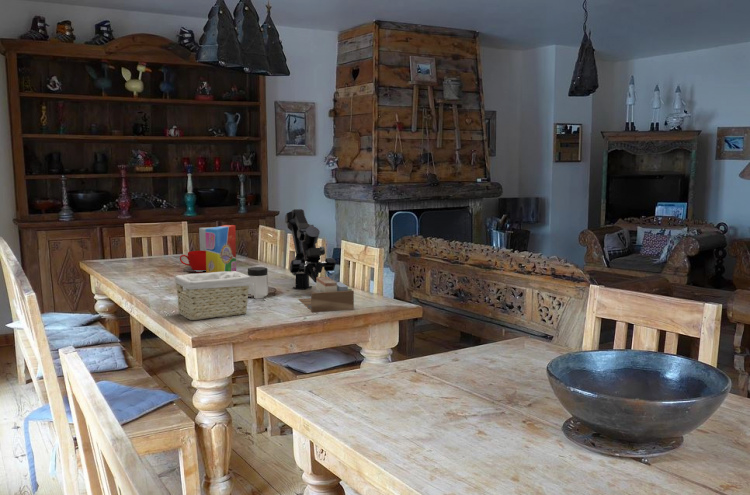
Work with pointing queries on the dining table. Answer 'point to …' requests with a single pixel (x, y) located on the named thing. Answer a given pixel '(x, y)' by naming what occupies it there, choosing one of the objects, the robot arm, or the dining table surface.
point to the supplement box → (203, 238)
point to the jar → (258, 282)
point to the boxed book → (326, 284)
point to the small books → (342, 287)
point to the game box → (221, 249)
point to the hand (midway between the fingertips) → (316, 282)
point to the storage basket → (212, 294)
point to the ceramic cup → (196, 260)
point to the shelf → (330, 301)
